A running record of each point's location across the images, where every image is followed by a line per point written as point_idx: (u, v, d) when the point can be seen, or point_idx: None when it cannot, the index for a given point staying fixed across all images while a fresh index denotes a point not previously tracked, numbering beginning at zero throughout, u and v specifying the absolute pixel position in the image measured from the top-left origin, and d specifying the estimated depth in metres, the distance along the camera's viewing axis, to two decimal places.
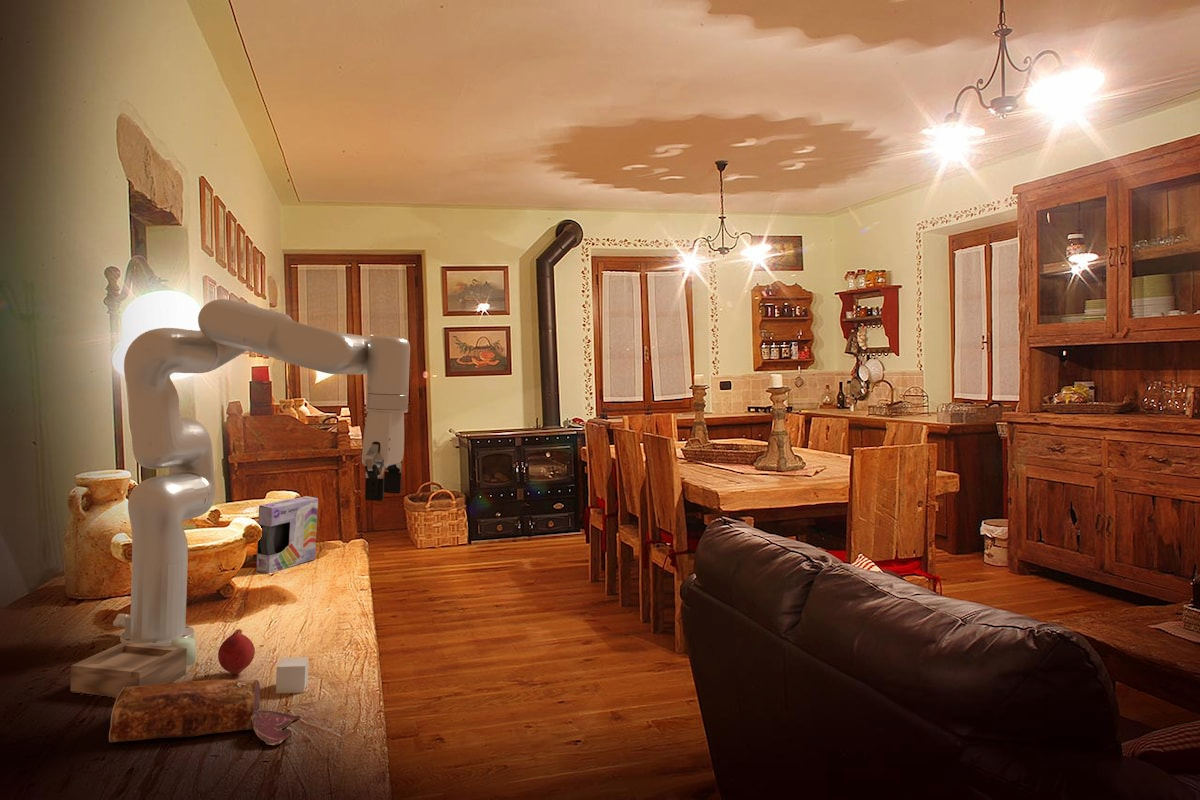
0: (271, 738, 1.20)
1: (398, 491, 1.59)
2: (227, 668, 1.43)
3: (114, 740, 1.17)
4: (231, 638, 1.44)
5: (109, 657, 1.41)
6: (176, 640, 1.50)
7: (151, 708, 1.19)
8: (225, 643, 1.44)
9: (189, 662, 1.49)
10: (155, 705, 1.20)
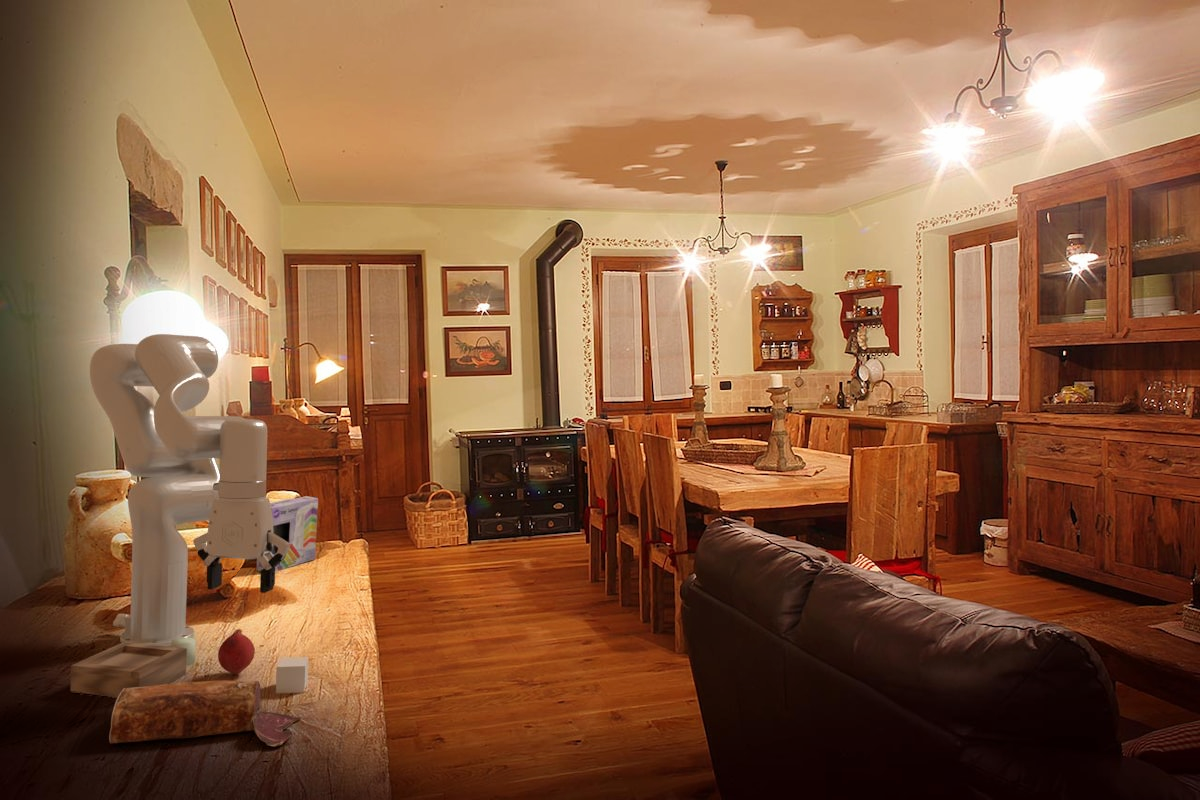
0: (272, 739, 1.20)
1: (220, 583, 1.47)
2: (227, 668, 1.43)
3: (114, 741, 1.17)
4: (231, 638, 1.44)
5: (109, 657, 1.41)
6: (176, 640, 1.50)
7: (151, 708, 1.19)
8: (225, 643, 1.44)
9: (189, 662, 1.49)
10: (155, 705, 1.19)
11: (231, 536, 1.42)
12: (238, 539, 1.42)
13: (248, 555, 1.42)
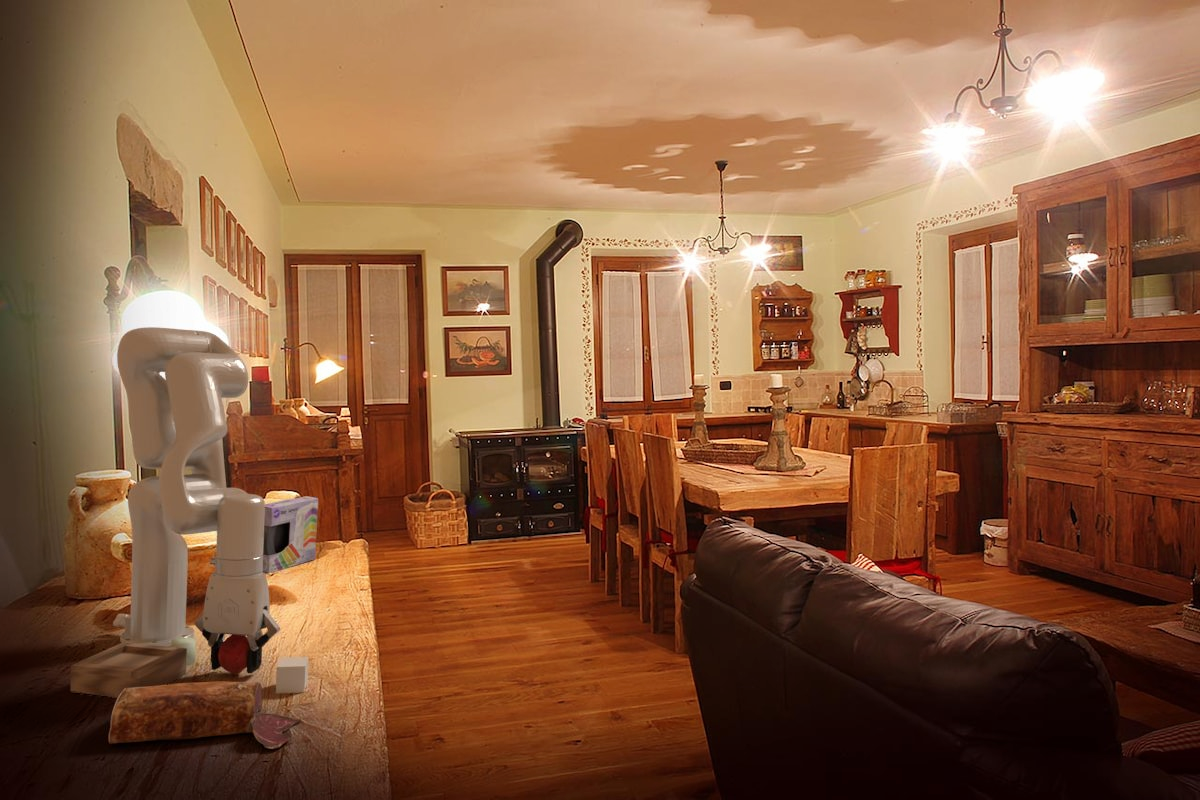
0: (270, 741, 1.19)
1: None
2: (227, 668, 1.43)
3: (114, 741, 1.17)
4: (231, 638, 1.44)
5: (109, 657, 1.41)
6: (176, 640, 1.50)
7: (151, 709, 1.19)
8: (225, 643, 1.44)
9: (189, 662, 1.49)
10: (155, 706, 1.19)
11: (227, 613, 1.43)
12: (234, 616, 1.43)
13: (244, 632, 1.42)
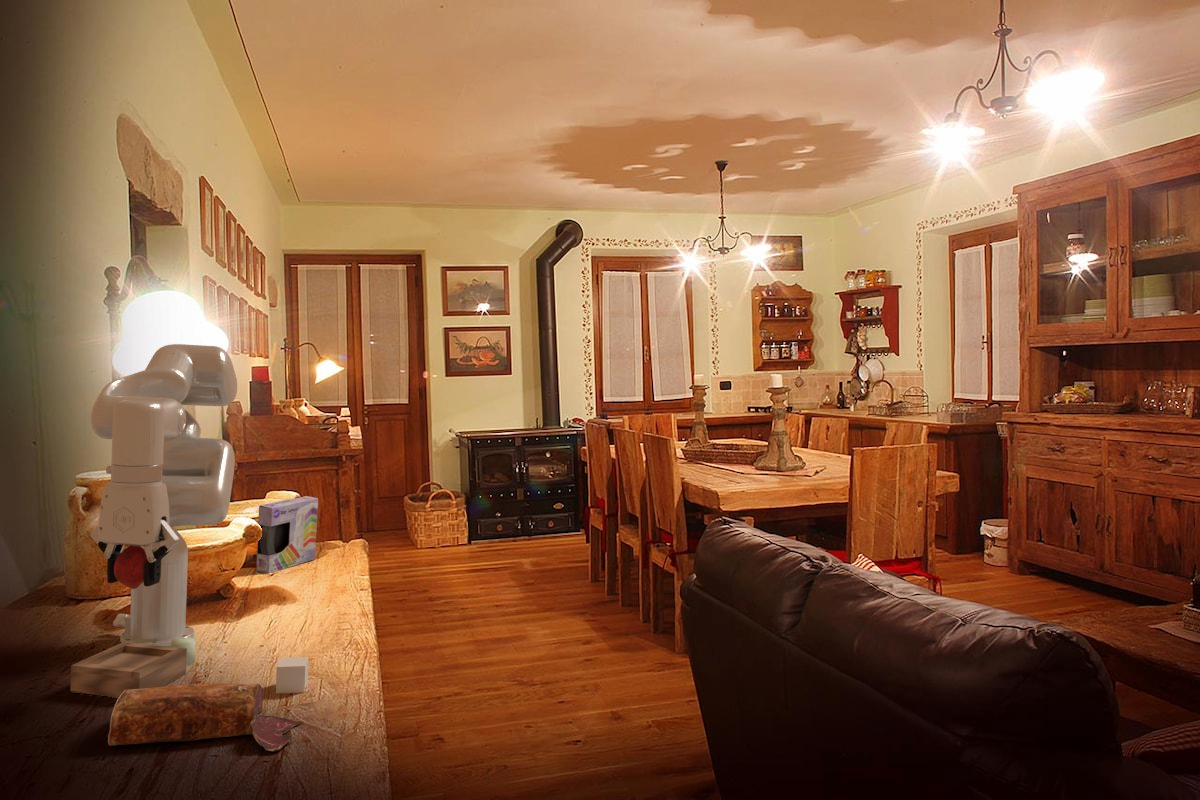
0: (270, 744, 1.19)
1: None
2: (122, 580, 1.37)
3: (113, 743, 1.16)
4: (127, 549, 1.38)
5: (109, 657, 1.41)
6: (176, 640, 1.50)
7: (150, 711, 1.18)
8: (121, 555, 1.37)
9: (189, 662, 1.49)
10: (155, 708, 1.19)
11: (122, 522, 1.36)
12: (130, 525, 1.36)
13: (140, 542, 1.36)
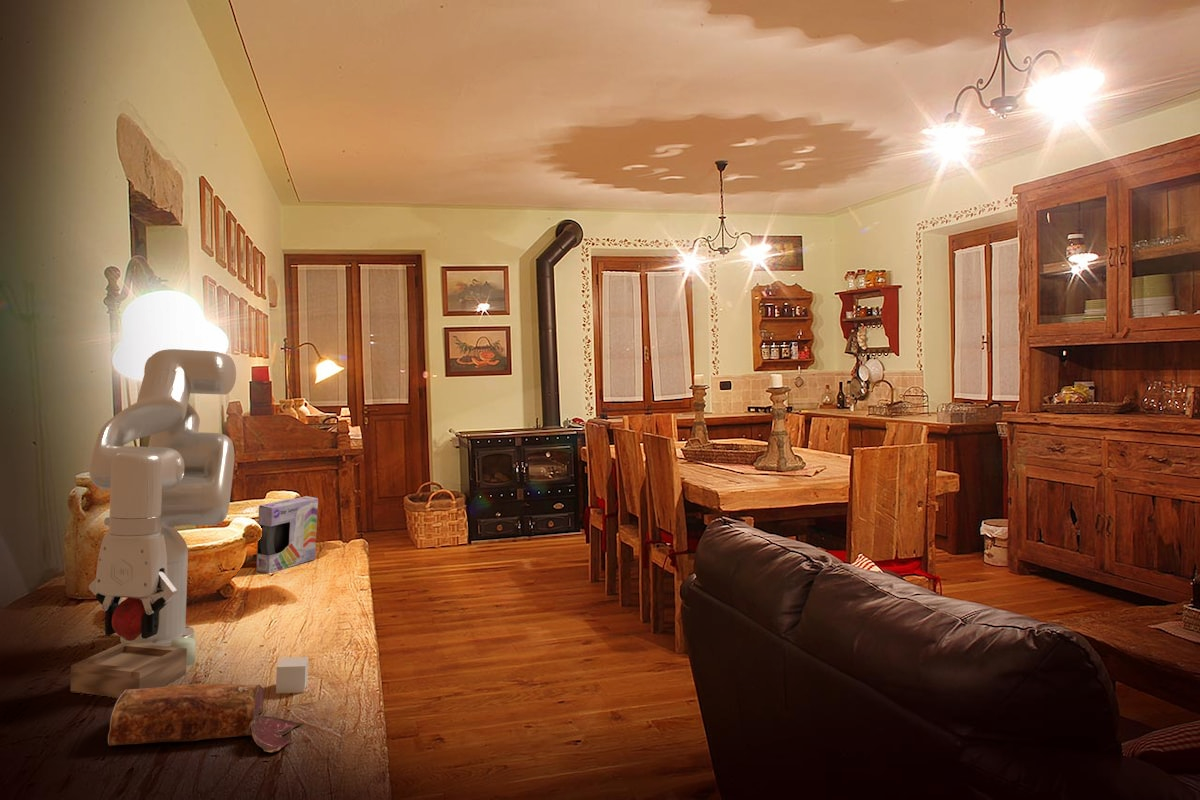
0: (269, 745, 1.18)
1: None
2: (120, 633, 1.37)
3: (113, 743, 1.16)
4: (125, 601, 1.38)
5: (109, 657, 1.41)
6: (176, 640, 1.50)
7: (150, 711, 1.18)
8: (119, 607, 1.37)
9: (189, 662, 1.49)
10: (154, 708, 1.18)
11: (120, 574, 1.36)
12: (127, 578, 1.36)
13: (137, 594, 1.36)
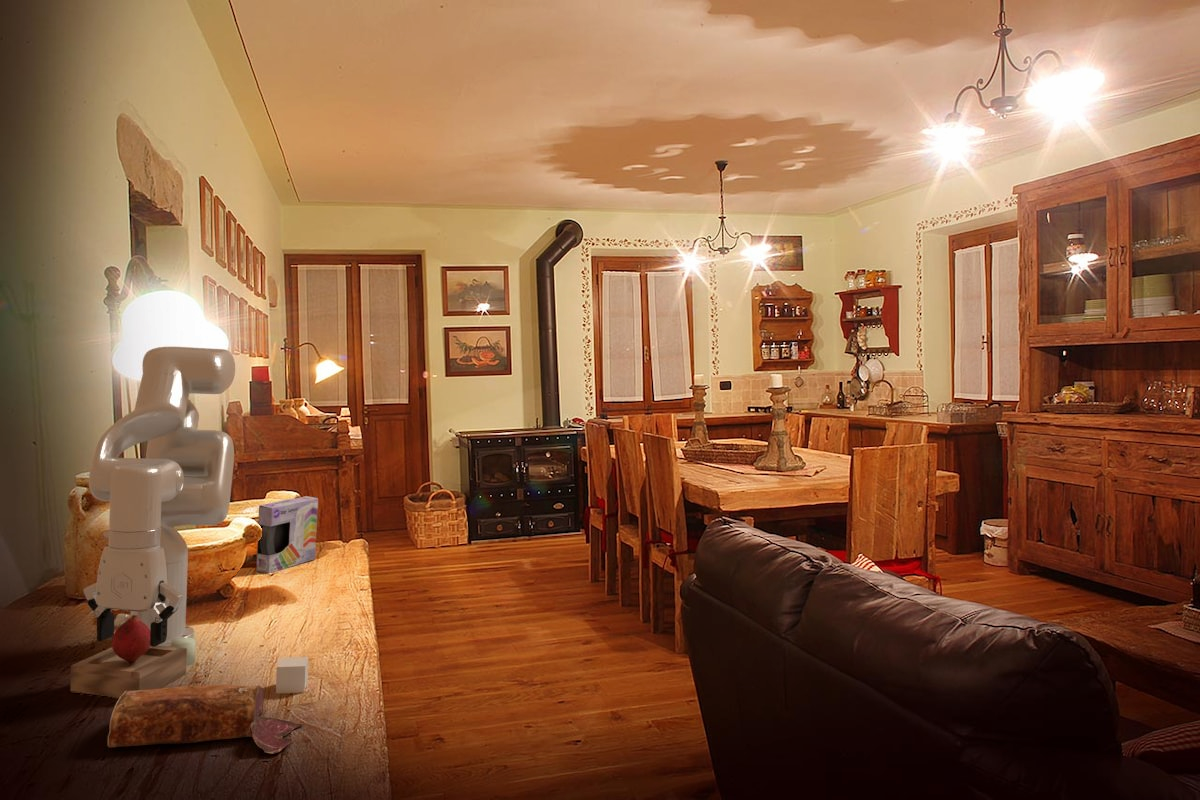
0: (270, 746, 1.18)
1: (112, 634, 1.41)
2: (121, 655, 1.37)
3: (113, 745, 1.16)
4: (126, 624, 1.38)
5: (109, 657, 1.41)
6: (176, 640, 1.50)
7: (150, 713, 1.18)
8: (119, 629, 1.38)
9: (189, 662, 1.49)
10: (154, 710, 1.18)
11: (120, 587, 1.36)
12: (127, 591, 1.36)
13: (137, 607, 1.36)
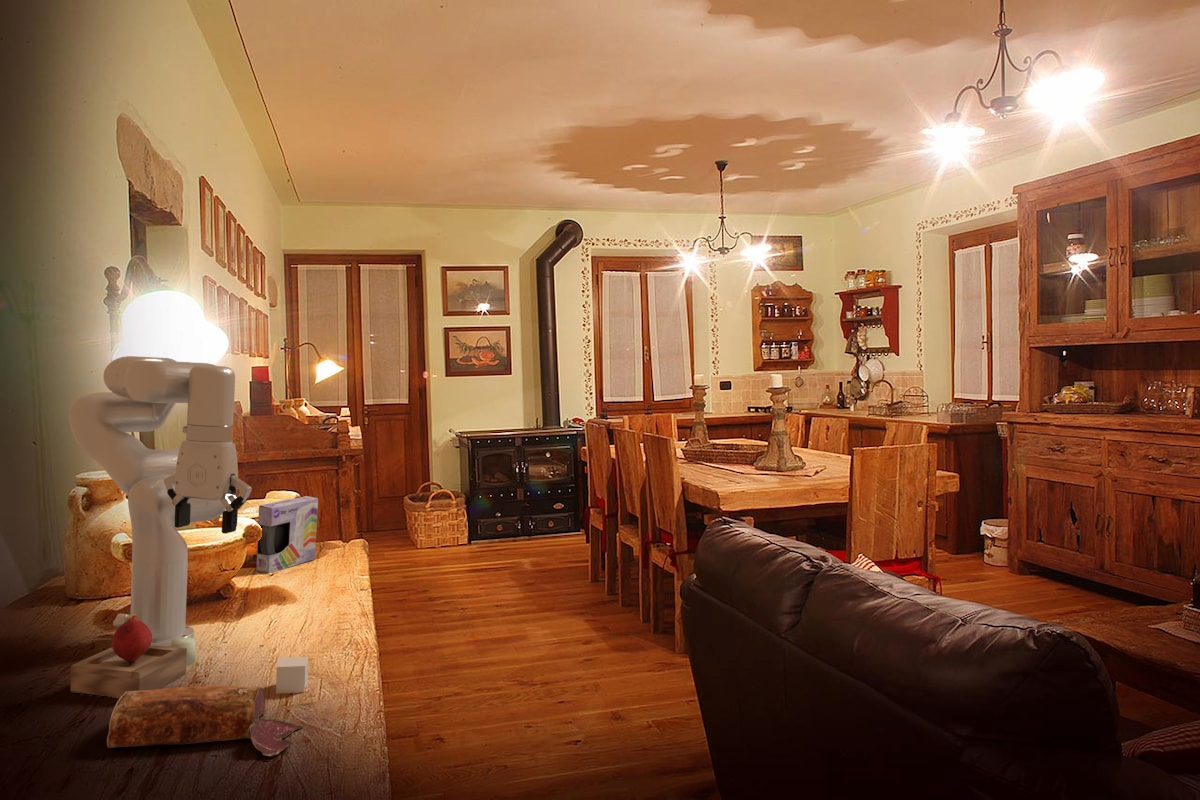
0: (269, 748, 1.17)
1: (188, 523, 1.53)
2: (121, 655, 1.37)
3: (112, 746, 1.15)
4: (126, 624, 1.38)
5: (109, 657, 1.41)
6: (176, 640, 1.50)
7: (149, 713, 1.17)
8: (119, 629, 1.38)
9: (189, 662, 1.49)
10: (154, 710, 1.18)
11: (196, 477, 1.48)
12: (202, 480, 1.47)
13: (210, 496, 1.47)
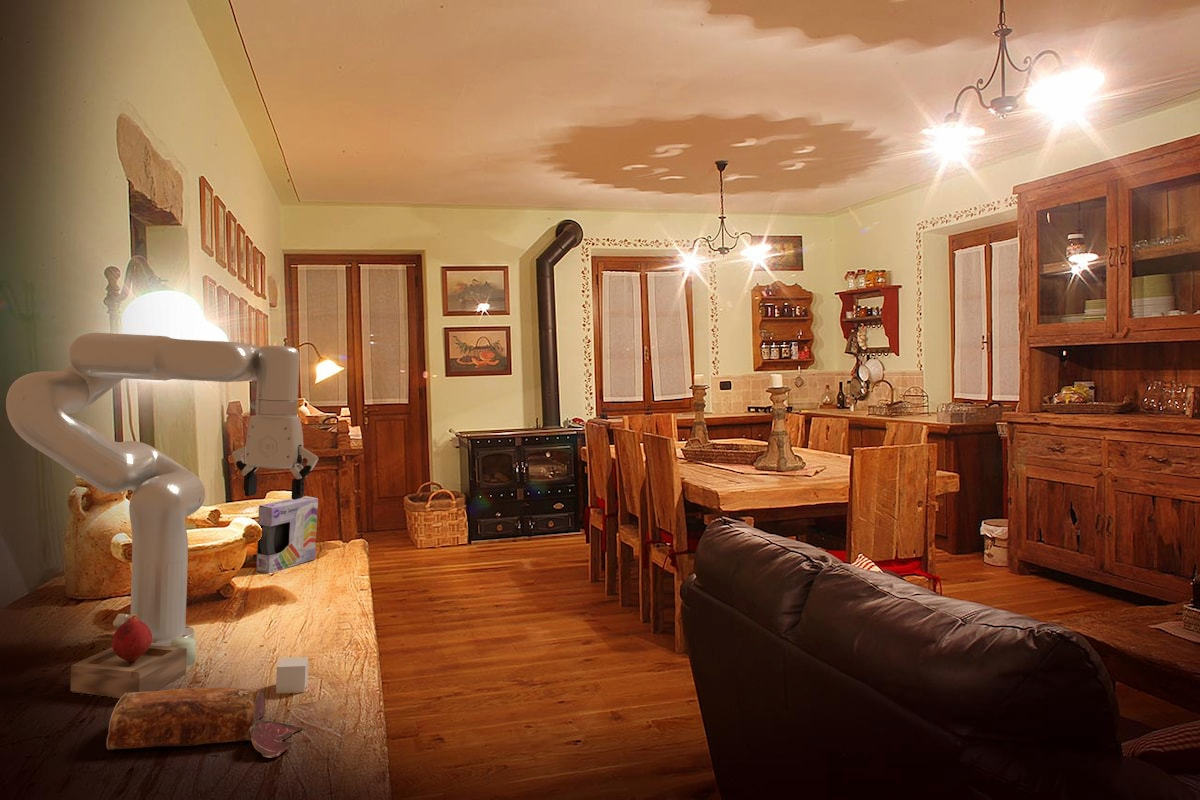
0: (269, 750, 1.17)
1: (255, 492, 1.65)
2: (121, 655, 1.37)
3: (112, 747, 1.15)
4: (126, 624, 1.38)
5: (109, 657, 1.41)
6: (176, 640, 1.50)
7: (149, 715, 1.17)
8: (119, 629, 1.38)
9: (189, 662, 1.49)
10: (154, 712, 1.17)
11: (266, 448, 1.60)
12: (273, 451, 1.60)
13: (281, 465, 1.60)
